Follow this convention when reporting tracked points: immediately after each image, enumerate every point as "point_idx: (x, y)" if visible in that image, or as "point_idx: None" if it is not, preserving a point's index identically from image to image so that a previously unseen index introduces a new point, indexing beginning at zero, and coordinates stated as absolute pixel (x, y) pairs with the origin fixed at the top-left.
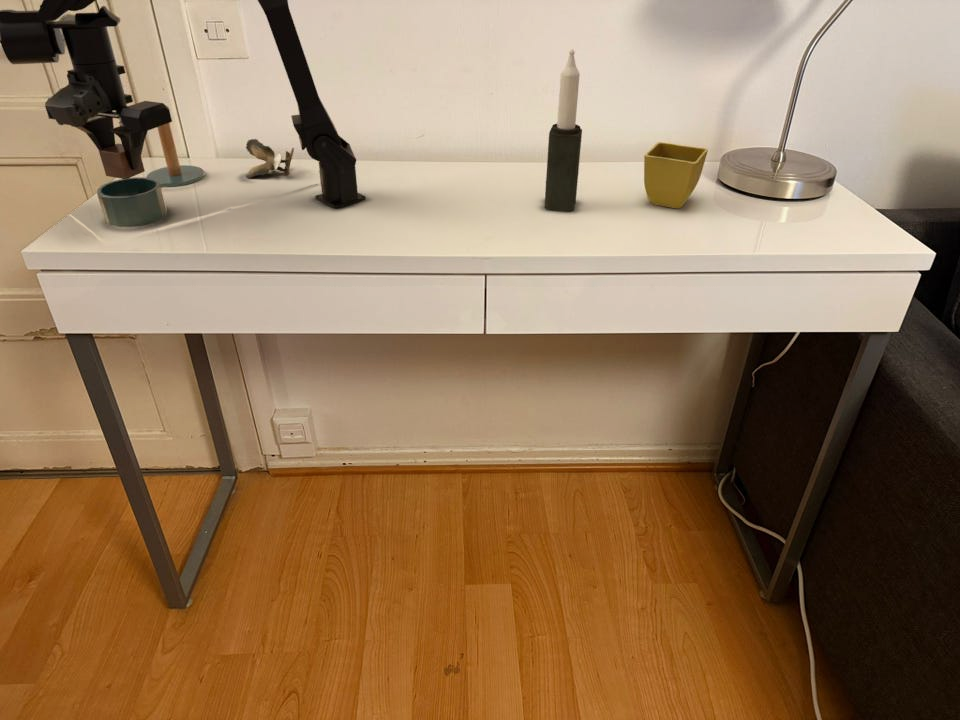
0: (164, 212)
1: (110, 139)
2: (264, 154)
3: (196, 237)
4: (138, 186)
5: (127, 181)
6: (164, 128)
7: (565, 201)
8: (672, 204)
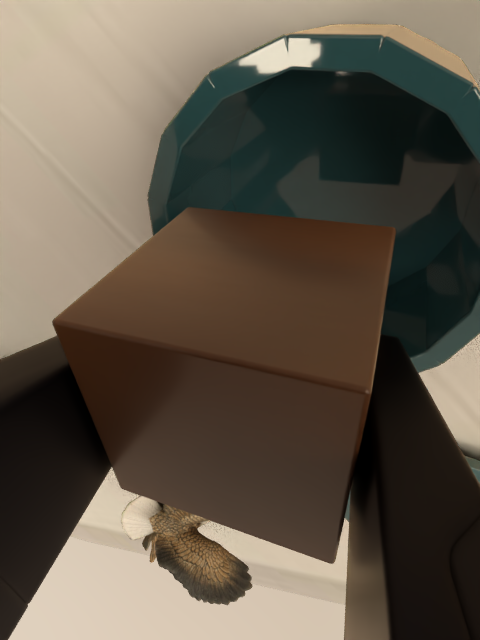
0: None
1: (352, 609)
2: (179, 545)
3: (19, 104)
4: None
5: (410, 348)
6: None
7: None
8: None
